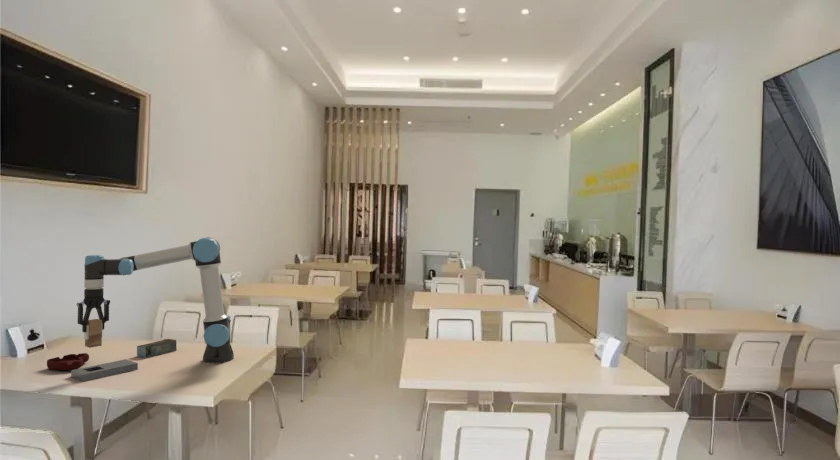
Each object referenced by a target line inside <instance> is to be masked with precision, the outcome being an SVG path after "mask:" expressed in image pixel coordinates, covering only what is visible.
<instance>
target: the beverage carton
mask: <svg viewBox="0 0 840 460" xmlns="http://www.w3.org/2000/svg"><path fill="white" fill-rule="evenodd" d="M174 351H175V352H176V351H178V350H177V339H173V338H172V339H170V338H167V339H166V338H165V339H162V340H157V341H153V342H149V343H146V344H140V345H136V357H138V358H144V359H148V358H152V357H156V356H160V355H163V354H169V353H172V352H174Z"/></svg>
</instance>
